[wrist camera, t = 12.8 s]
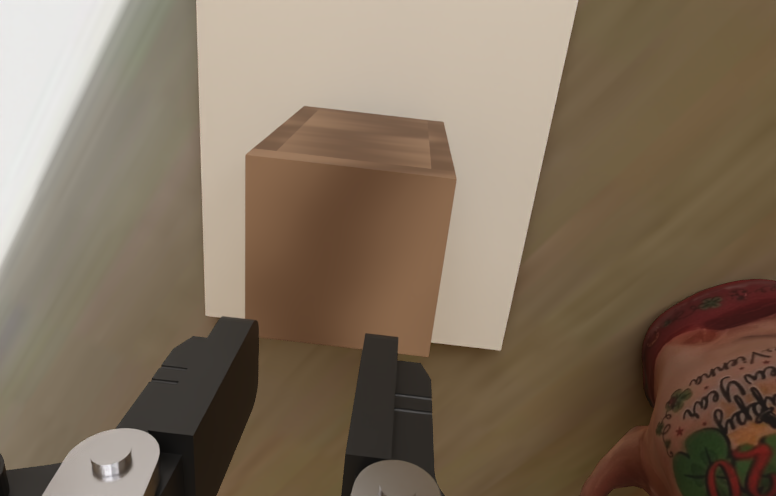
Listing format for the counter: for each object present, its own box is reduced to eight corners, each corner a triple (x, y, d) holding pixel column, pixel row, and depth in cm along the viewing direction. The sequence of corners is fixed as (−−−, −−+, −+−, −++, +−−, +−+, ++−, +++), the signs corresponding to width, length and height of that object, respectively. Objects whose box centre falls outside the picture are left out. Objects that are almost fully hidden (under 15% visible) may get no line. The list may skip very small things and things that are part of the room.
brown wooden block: (443, 121, 24) (456, 179, 16) (425, 249, 26) (428, 356, 18) (304, 105, 24) (245, 154, 16) (298, 235, 26) (245, 335, 18)
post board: (572, -18, 24) (685, -38, 14) (497, 335, 31) (535, 491, 21) (207, -60, 24) (54, -110, 14) (214, 302, 31) (117, 441, 21)
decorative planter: (583, 501, 36) (675, 774, 23) (489, 366, 32) (536, 602, 19) (917, 365, 31) (1275, 619, 18) (850, 186, 27) (1242, 344, 14)
